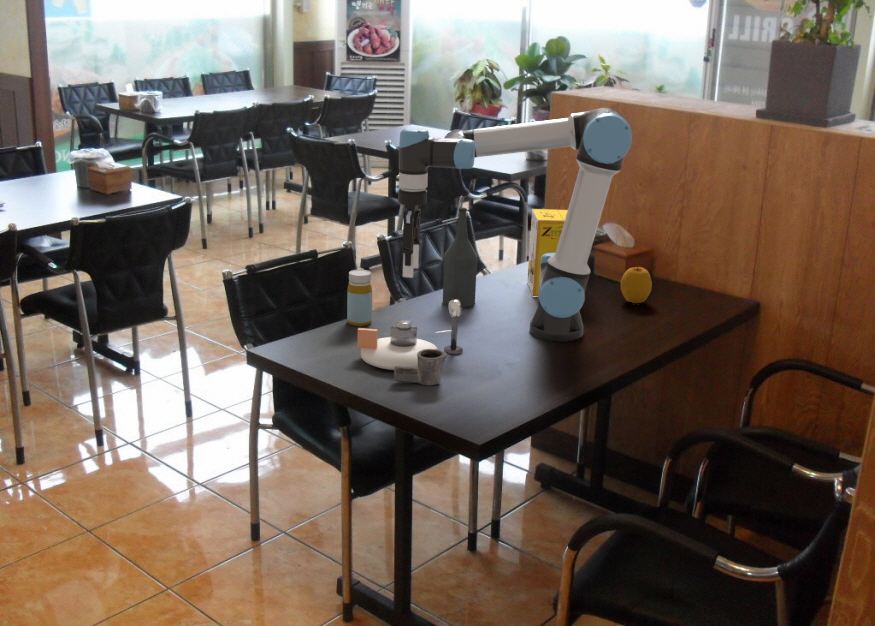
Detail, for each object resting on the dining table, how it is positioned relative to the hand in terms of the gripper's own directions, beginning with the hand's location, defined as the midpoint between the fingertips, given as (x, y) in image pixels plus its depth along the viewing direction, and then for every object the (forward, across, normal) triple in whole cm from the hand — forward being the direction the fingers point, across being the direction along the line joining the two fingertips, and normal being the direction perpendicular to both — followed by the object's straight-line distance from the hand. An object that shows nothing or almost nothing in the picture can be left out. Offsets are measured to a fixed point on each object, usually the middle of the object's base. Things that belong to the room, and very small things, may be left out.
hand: (410, 272), depth 260 cm
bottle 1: (+20, -10, -16) cm, 27 cm away
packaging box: (+20, -56, +39) cm, 71 cm away
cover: (+17, +10, 0) cm, 19 cm away
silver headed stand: (+19, +7, +12) cm, 24 cm away
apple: (+20, -48, +64) cm, 83 cm away
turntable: (+18, +15, 0) cm, 24 cm away
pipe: (+20, +30, +8) cm, 36 cm away
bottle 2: (+20, -34, +10) cm, 41 cm away
